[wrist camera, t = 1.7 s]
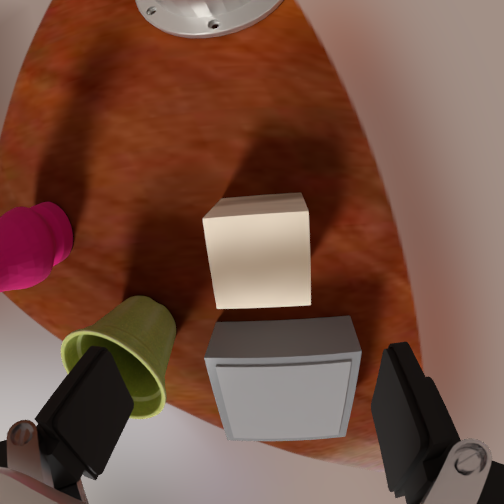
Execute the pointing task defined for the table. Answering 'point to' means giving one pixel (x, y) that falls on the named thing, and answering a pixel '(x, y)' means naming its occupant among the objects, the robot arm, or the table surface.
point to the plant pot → (131, 349)
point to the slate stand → (284, 377)
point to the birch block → (259, 251)
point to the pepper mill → (32, 244)
